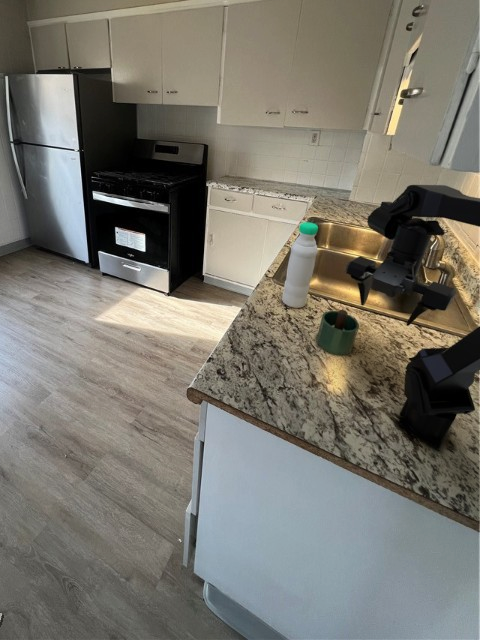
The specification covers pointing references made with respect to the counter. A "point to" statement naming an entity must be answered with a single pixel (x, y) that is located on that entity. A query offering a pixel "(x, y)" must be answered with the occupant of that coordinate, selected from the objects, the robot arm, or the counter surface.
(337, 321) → the brush
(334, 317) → the green plastic cup
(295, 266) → the water bottle
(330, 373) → the counter surface
